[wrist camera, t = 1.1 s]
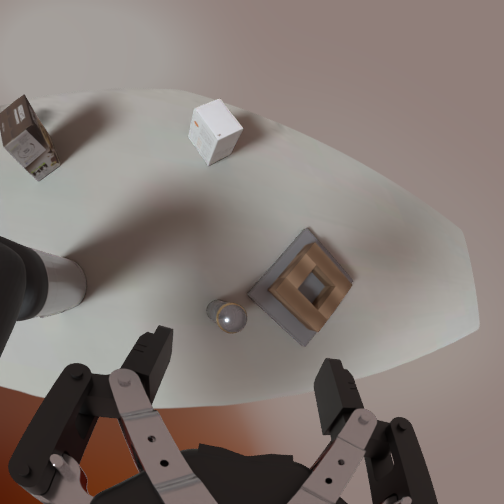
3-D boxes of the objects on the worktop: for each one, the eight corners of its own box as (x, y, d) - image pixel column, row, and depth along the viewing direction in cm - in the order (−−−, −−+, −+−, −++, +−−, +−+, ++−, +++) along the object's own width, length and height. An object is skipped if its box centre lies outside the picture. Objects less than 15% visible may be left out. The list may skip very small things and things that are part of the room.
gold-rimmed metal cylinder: (218, 327, 49) (234, 340, 37) (200, 311, 48) (211, 320, 37) (234, 310, 50) (254, 317, 38) (217, 293, 49) (232, 296, 38)
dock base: (301, 345, 53) (305, 346, 52) (246, 294, 51) (249, 294, 49) (349, 281, 58) (353, 280, 57) (303, 229, 56) (306, 227, 55)
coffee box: (62, 164, 42) (33, 124, 27) (38, 182, 40) (2, 148, 25) (50, 134, 41) (25, 92, 26) (27, 151, 39) (-4, 114, 24)
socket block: (308, 329, 52) (318, 332, 49) (267, 289, 51) (275, 290, 47) (341, 285, 56) (352, 284, 52) (305, 245, 54) (315, 242, 50)
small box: (230, 155, 53) (245, 129, 43) (207, 166, 51) (218, 141, 41) (210, 126, 53) (220, 97, 43) (187, 137, 51) (193, 107, 41)
